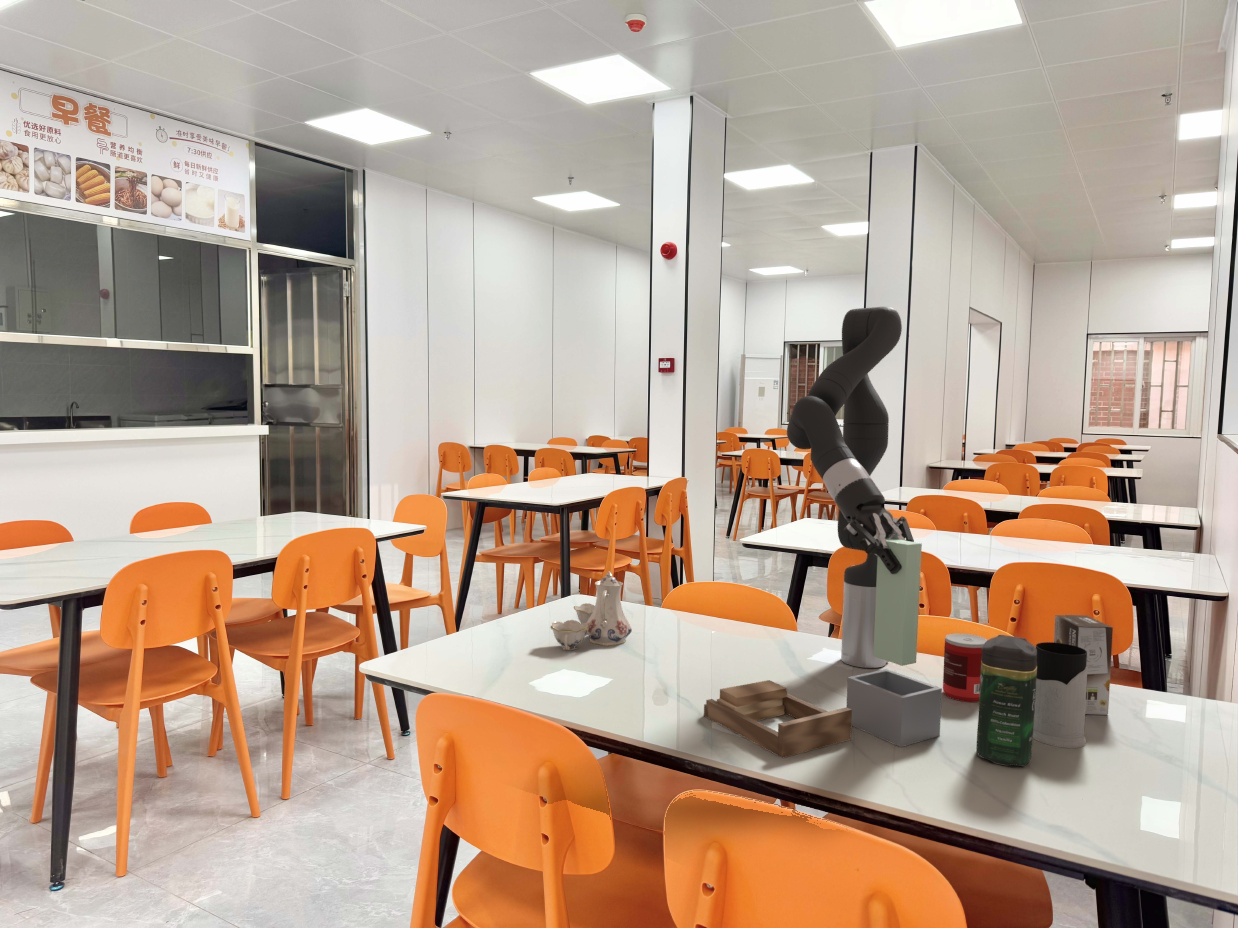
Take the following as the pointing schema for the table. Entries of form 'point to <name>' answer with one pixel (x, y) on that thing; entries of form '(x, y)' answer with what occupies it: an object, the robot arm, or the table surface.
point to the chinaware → (596, 619)
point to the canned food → (962, 666)
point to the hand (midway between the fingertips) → (905, 569)
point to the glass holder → (1060, 695)
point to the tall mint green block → (898, 605)
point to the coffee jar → (1007, 700)
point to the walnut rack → (787, 726)
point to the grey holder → (894, 707)
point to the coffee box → (1090, 655)
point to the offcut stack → (755, 699)
